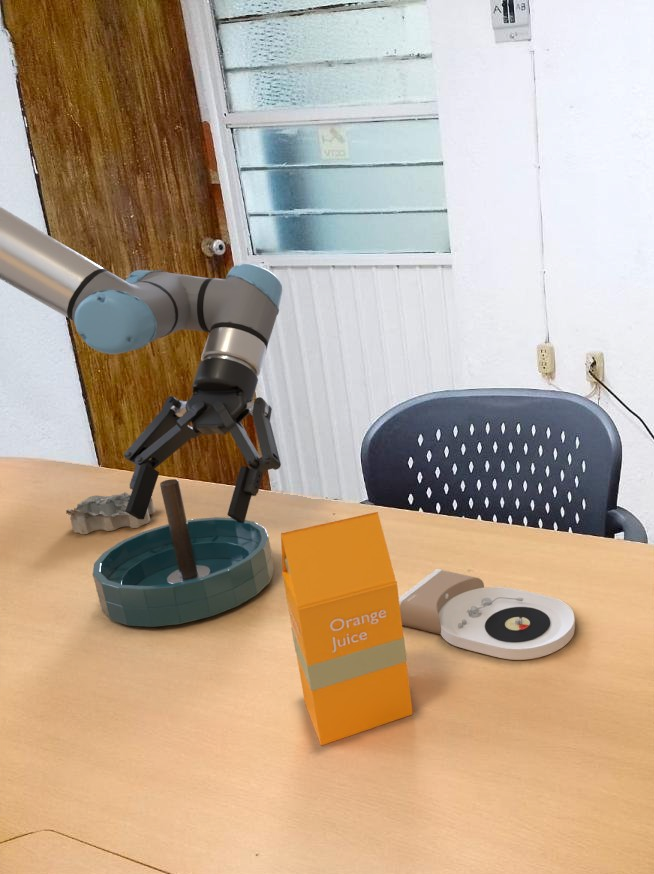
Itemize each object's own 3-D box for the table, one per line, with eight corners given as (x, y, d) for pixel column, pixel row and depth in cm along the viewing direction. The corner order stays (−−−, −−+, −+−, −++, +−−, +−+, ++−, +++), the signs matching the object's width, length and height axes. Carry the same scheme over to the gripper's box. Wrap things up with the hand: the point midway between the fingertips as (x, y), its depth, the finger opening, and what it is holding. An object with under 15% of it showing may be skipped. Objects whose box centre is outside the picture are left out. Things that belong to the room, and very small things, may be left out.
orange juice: (413, 714, 80) (391, 526, 73) (320, 746, 76) (287, 550, 69) (390, 673, 86) (367, 497, 80) (303, 701, 82) (271, 518, 76)
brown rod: (168, 581, 106) (145, 479, 101) (211, 572, 108) (190, 471, 103) (169, 598, 101) (146, 493, 97) (214, 588, 104) (193, 484, 99)
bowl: (105, 575, 109) (96, 538, 107) (264, 542, 117) (257, 506, 115) (100, 648, 92) (89, 605, 90) (284, 603, 101) (277, 562, 99)
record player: (444, 562, 103) (591, 593, 95) (446, 584, 104) (591, 617, 96) (386, 607, 93) (544, 646, 85) (388, 631, 94) (545, 671, 86)
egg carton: (67, 537, 120) (60, 511, 119) (85, 516, 127) (78, 492, 126) (147, 528, 123) (141, 502, 121) (160, 508, 130) (154, 484, 128)
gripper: (328, 384, 113) (292, 530, 104) (161, 382, 117) (112, 524, 108) (304, 355, 107) (264, 509, 98) (128, 354, 110) (73, 503, 101)
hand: (184, 517), depth 103 cm, fingers open, 13 cm apart
